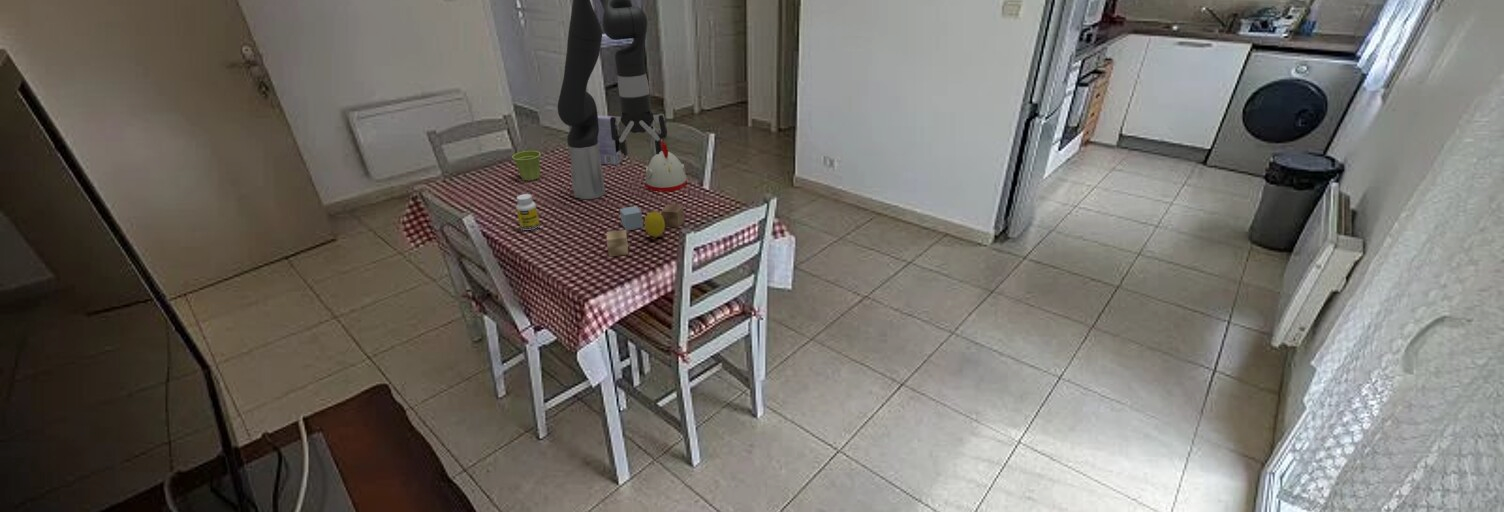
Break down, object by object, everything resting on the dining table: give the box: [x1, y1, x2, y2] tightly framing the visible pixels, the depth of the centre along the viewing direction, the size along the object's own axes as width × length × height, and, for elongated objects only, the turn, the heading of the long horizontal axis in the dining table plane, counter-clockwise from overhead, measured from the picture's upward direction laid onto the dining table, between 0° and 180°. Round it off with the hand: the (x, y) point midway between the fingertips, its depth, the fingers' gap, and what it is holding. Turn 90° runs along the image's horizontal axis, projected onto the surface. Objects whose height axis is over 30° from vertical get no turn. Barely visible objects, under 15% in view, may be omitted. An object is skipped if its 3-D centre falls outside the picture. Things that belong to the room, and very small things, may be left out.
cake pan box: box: [568, 115, 623, 166], centre depth 221 cm, size 19×5×18 cm, turn 79°
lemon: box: [644, 210, 666, 238], centre depth 166 cm, size 6×6×8 cm
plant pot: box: [511, 150, 541, 181], centre depth 209 cm, size 9×9×9 cm
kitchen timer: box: [645, 140, 688, 193], centre depth 200 cm, size 14×14×15 cm
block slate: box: [619, 205, 644, 232], centre depth 174 cm, size 5×5×5 cm
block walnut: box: [660, 203, 686, 229], centre depth 174 cm, size 5×5×5 cm
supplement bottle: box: [515, 193, 541, 231], centre depth 173 cm, size 5×5×10 cm
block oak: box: [606, 229, 629, 257], centre depth 160 cm, size 5×5×5 cm
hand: (642, 154), depth 158 cm, fingers open, 8 cm apart
